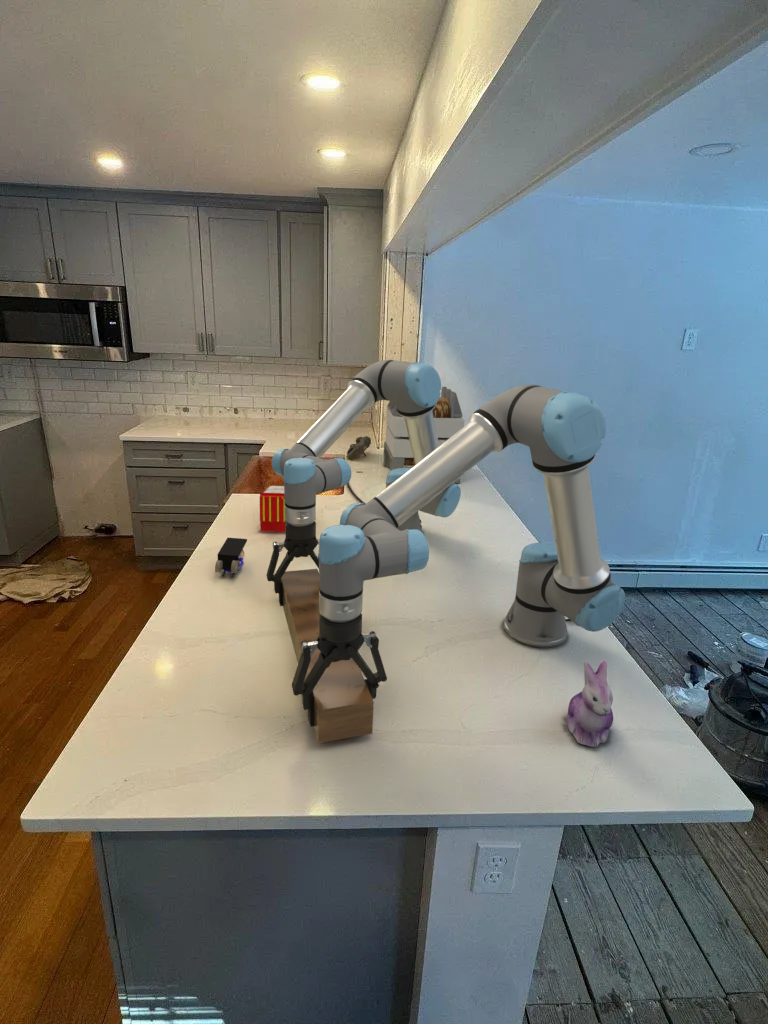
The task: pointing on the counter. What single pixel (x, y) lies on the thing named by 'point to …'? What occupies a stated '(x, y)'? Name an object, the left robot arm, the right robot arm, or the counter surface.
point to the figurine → (591, 708)
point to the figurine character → (230, 556)
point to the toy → (272, 509)
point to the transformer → (397, 435)
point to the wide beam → (342, 686)
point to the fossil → (358, 447)
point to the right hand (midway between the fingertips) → (339, 716)
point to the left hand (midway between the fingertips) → (301, 601)
